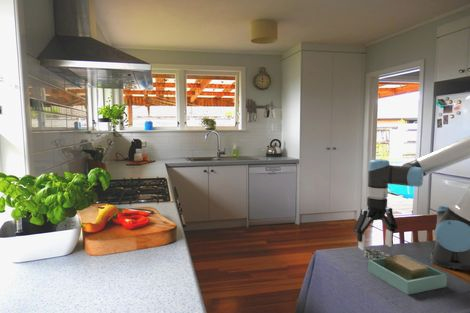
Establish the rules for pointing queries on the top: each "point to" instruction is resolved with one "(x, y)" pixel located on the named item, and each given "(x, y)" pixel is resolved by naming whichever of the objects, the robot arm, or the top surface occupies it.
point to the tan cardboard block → (405, 267)
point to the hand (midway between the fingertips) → (374, 247)
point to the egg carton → (374, 253)
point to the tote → (430, 282)
